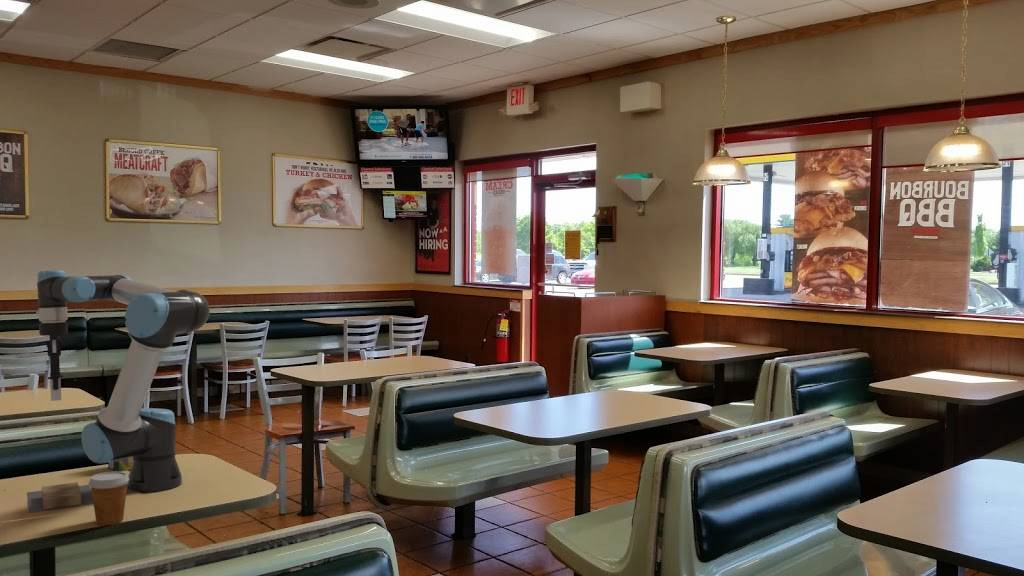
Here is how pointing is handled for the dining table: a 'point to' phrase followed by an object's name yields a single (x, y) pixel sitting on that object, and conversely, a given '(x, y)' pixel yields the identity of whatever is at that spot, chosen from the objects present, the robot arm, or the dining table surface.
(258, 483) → the dining table surface
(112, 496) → the disposable coffee cup
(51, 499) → the menu board
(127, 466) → the chalk box
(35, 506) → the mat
